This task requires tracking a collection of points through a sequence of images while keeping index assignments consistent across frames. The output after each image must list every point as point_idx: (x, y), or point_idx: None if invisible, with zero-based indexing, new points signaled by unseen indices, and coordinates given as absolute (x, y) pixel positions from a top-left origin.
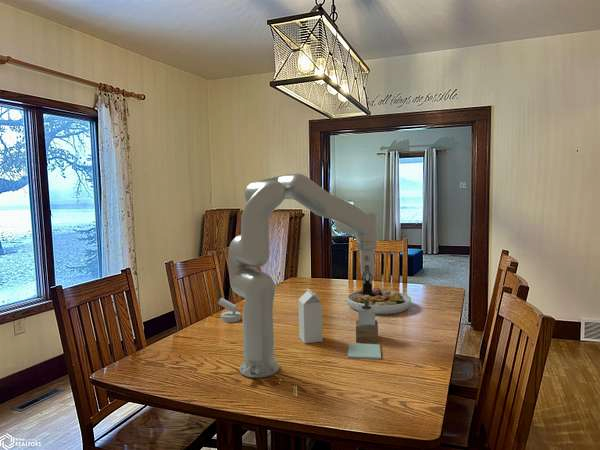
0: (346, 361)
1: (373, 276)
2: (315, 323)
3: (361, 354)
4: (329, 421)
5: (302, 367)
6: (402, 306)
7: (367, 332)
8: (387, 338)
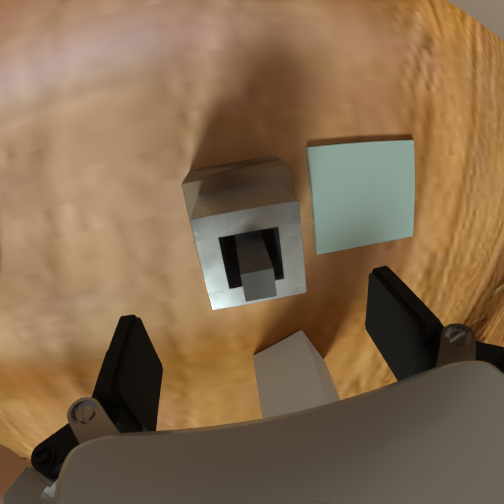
0: (427, 233)
1: (485, 365)
2: (327, 382)
3: (400, 200)
4: None
5: (445, 311)
6: None
7: None
8: (214, 126)
